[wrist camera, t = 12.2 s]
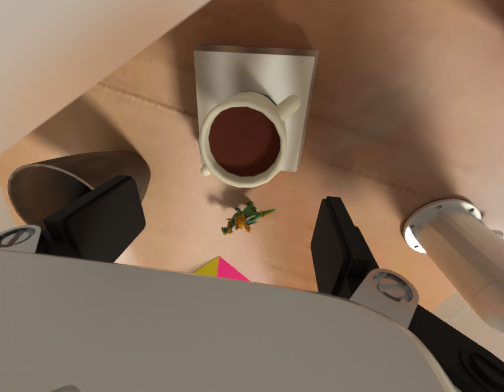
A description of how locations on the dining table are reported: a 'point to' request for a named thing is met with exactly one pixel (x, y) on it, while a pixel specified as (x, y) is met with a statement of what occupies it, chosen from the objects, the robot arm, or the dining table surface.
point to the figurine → (245, 219)
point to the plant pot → (69, 181)
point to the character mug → (246, 138)
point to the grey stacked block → (258, 83)
